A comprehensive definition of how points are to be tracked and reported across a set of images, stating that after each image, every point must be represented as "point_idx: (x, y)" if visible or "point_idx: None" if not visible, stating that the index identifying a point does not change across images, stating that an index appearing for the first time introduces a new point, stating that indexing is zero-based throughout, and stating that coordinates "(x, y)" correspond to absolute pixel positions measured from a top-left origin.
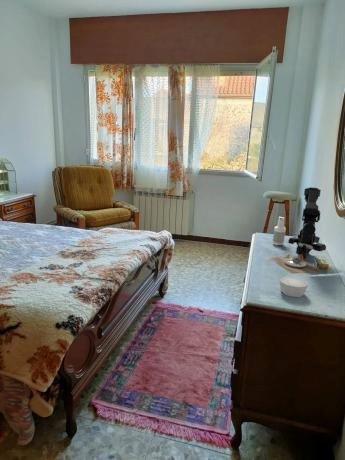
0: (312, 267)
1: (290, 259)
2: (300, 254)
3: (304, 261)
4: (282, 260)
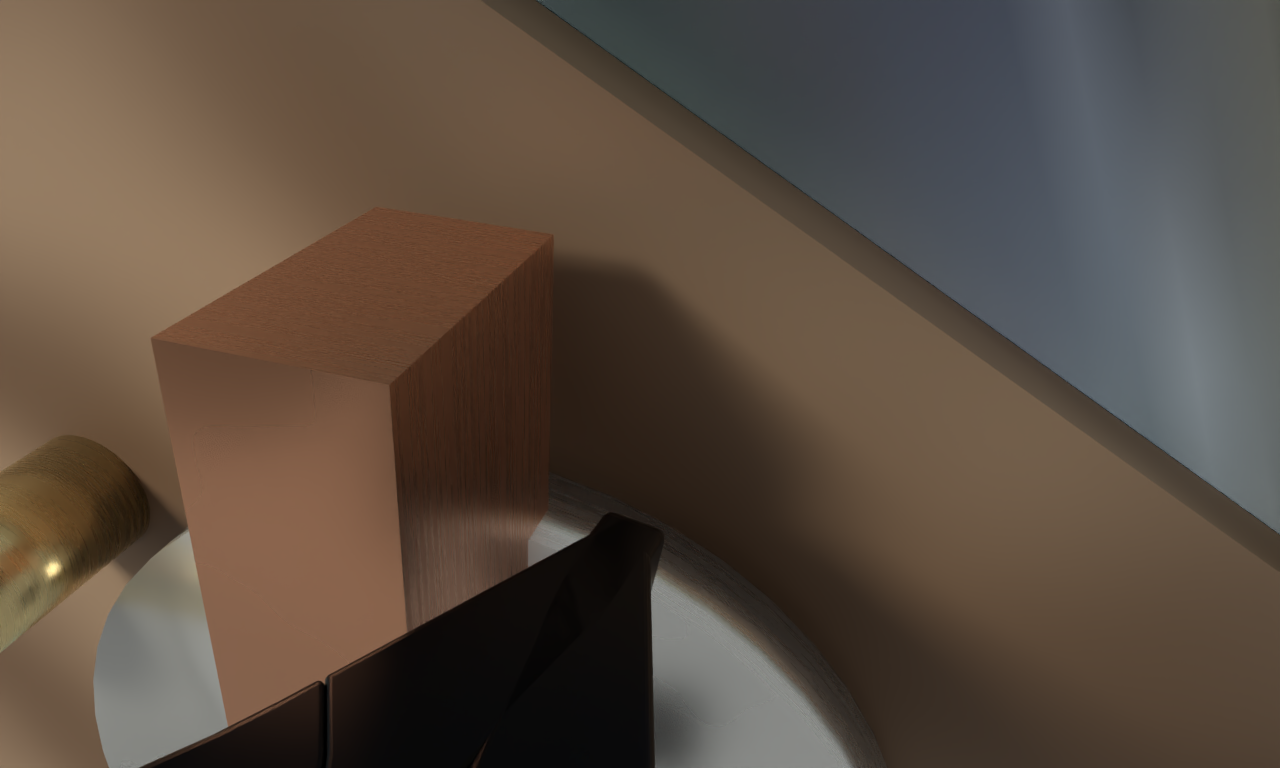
0: (1174, 731)
1: None
2: (219, 593)
3: (703, 650)
4: (92, 661)
